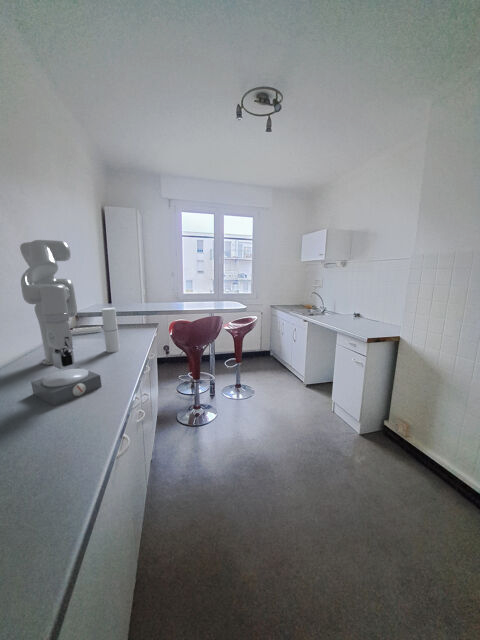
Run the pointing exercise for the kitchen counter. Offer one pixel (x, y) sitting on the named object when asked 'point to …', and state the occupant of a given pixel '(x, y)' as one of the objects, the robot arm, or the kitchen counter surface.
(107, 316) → the cylindrical container
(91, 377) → the kitchen scale
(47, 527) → the kitchen counter surface
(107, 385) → the kitchen counter surface
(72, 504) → the kitchen counter surface
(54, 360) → the steel spacer
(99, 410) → the kitchen counter surface
